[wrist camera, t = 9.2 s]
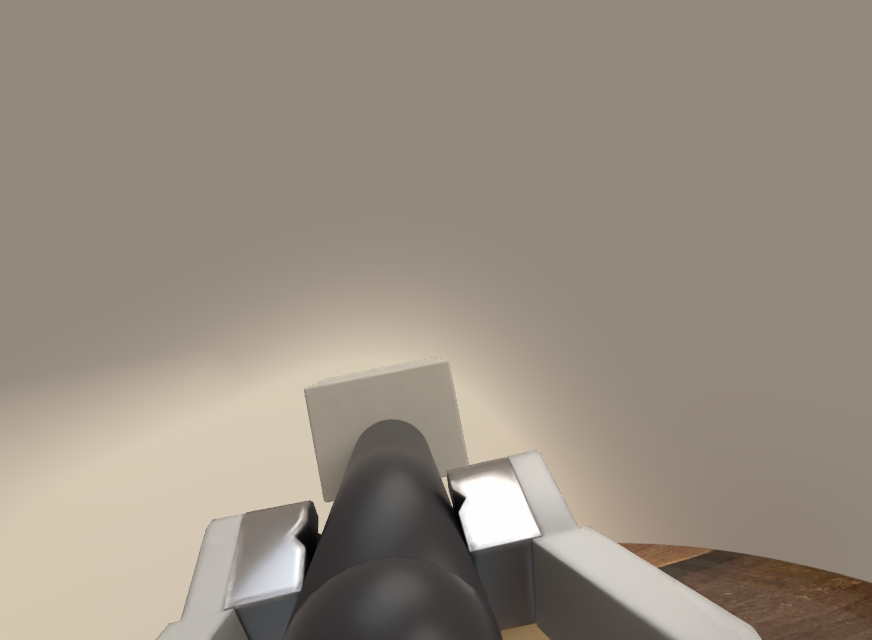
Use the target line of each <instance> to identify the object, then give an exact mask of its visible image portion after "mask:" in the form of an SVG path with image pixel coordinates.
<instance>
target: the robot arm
mask: <svg viewBox="0 0 872 640" xmlns="http://www.w3.org/2000/svg"><path fill="white" fill-rule="evenodd" d="M447 480H448V488H449V492H450V496H451V500H452V504H453V507H452V508H453V511H454V513H455V516H456V520H457V521H458V523H459V526H460V528H461V533H462V535H463V538H464V540H465V543H466V545H467V548H468V551H469V553H470V555H471V557H472V560H473V562H474V565H475V567H476V570H477V572H478V575H479V577H480V580H481V583H482V585H483V588H484V590H485V593H486V595H487V598H488V601H489V603H490V606H491V608H492V611H493V613H494V616H495V619H496V621H497V624H498V626H499V629H500V631H503V630H507V629H512V628H516V627H521V626H526V625H530V624H535V623H537V627H538V628H539V629H540V630H541V631H542V632H543V633H544V634H545V635H546V636H547V637H548V638H549V639H550V640H762V639H761V638H760V636H759V635H758V634H757V632H756V631H755V630H754V628H753V627H752V626H750V625H748V624H747V623H745V622H744V621H742V620H740V619H739V618H737V617H736V616H734V615H732V614H731V613H729V612H727V611H726V610H724V609H723V608H721V607H719V606H718V605H716V604H714V603H713V602H711V601H710V600H708V599H706V598H705V597H703V596H702V595H700V594H698V593H697V592H695V591H693V590H692V589H690V588H689V587H687V586H685V585H684V584H682V583H680V582H679V581H677V580H676V579H674V578H672V577H671V576H669V575H668V574H666V573H664V572H663V571H661V570H659V569H658V568H656V567H655V566H653V565H651V564H650V563H648V562H646V561H645V560H643V559H642V558H640V557H638V556H637V555H635V554H634V553H632V552H630V551H629V550H627V549H625V548H624V547H622V546H621V545H619V544H617V543H616V542H614V541H612V540H611V539H609V538H608V537H606V536H604V535H603V534H601V533H599V532H598V531H596V530H595V529H593V528H591V527H590V526H588V527H583V528H579V526H578V524H577V522H576V520H575V518H574V516H573V515H572V513H571V511H570V509H569V507H568V505H567V503H566V501H565V499H564V497H563V495H562V493H561V492H560V490H559V488H558V486H557V484H556V482H555V480H554V478H553V477H552V474H551V472H550V471H549V469H548V467H547V465H546V463H545V461H544V459H543V457H542V455H541V454H540V453H539V452H538V451H537V450H534V451H529V452H525V453H521V454H517V455H513V456H508V457H507V458H500V459H496V460H491V461H487V462H482V463H478V464H474V465H469V466H464V467H460V468H455V469H451V470H447ZM320 538H321V534H319V533H318V515H317V512H316V509H315V506H314V504H313V502H311V501H310V500H309V501H304V502H300V503H294V504H289V505H284V506H278V507H273V508H268V509H262V510H257V511H252V512H247V513H246V514H241V515H235V516H230V517H225V518H219V519H213V520H212V521H211V523H210V524H209V525H208V527H207V528H206V531H205V535H204V538H203V542H202V546H201V549H200V552H199V556H198V560H197V563H196V567H195V570H194V574H193V577H192V581H191V585H190V589H189V592H188V595H187V599H186V603H185V606H184V610H183V613H182V617H181V620H180V621H178V622H174V623H170V624H169V625H168V626H167V627H166V628H165V629H164V630H163V632H162V633H161V634H160V635H159V636H158V637H157V638H156V640H282V639H283V636H284V633H285V631H286V628H287V625H288V623H289V620H290V617H291V615H292V612H293V609H294V607H295V604H296V601H297V599H298V596H299V593H300V591H301V588H302V585H303V583H304V580H305V577H306V575H307V572H308V569H309V567H310V564H311V561H312V559H313V556H314V553H315V551H316V548H317V545H318V543H319V540H320Z"/></svg>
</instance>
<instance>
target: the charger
mask: <svg viewBox="0 0 872 640" xmlns="http://www.w3.org/2000/svg"><path fill="white" fill-rule="evenodd" d="M304 392H305V398H306V404H307V409H308V415H309V420H310V425H311V431H312V436H313V442H314V448H315V453H316V459H317V464H318V470H319V476H320V481H321V486H322V492H323V497H324V501H325V502H331V501H334V503H333V506H332V508H331V511H330V514H329V516H328V519H327V522H326V524H325V527H324V530H323V532H322V535H321V538H320V540H319V543H318V545H317V548H316V551H315V553H314V556H313V559H312V561H311V564H310V567H309V569H308V572H307V575H306V577H305V580H304V583H303V585H302V588H301V591H300V593H299V596H298V599H297V601H296V604H295V607H294V609H293V612H292V615H291V617H290V620H289V623H288V625H287V628H286V631H285V633H284V636H283V639H282V640H503V638H502V634H501V632H500V629H499V626H498V624H497V621H496V619H495V616H494V613H493V611H492V608H491V606H490V603H489V601H488V598H487V595H486V593H485V590H484V588H483V585H482V583H481V580H480V577H479V575H478V572H477V570H476V567H475V565H474V562H473V560H472V557H471V555H470V553H469V551H468V548H467V545H466V543H465V540H464V538H463V535H462V533H461V528H460V526H459V523H458V521H457V520H456V516H455V513H454V511H453V508H452V505H451V503H450V500H449V498H448V495H447V493H446V490H445V487H444V485H443V482H442V479H441V477H446V476H447V470H451V469H455V468H460V467H464V466H469V462H468V457H467V452H466V447H465V442H464V436H463V431H462V426H461V421H460V415H459V410H458V405H457V400H456V395H455V389H454V384H453V379H452V374H451V369H450V364H449V361H448V360H443V359H438V358H429V359H424V360H419V361H414V362H409V363H404V364H399V365H393V366H388V367H383V368H378V369H373V370H368V371H363V372H357V373H353V374H347V375H342V376H337V377H332V378H327V379H324V380H322V381H320V382H317V383H315V384H313V385H311V386H308V387H306V388H305V389H304Z"/></svg>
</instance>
